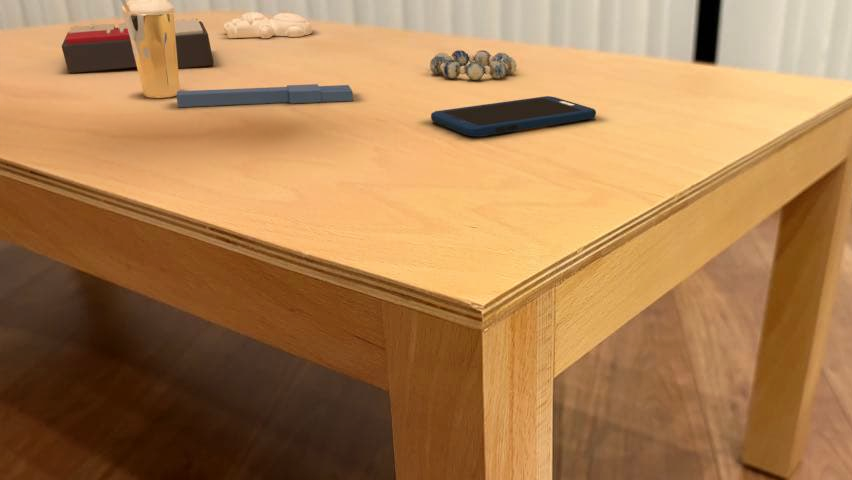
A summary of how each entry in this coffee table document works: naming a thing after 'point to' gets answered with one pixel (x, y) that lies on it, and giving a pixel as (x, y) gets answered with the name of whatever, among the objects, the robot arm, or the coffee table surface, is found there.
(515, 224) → the coffee table surface
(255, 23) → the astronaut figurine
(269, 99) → the blue ruler strip
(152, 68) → the milkshake
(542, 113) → the cell phone
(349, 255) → the coffee table surface
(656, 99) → the coffee table surface
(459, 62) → the bracelet
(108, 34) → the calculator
